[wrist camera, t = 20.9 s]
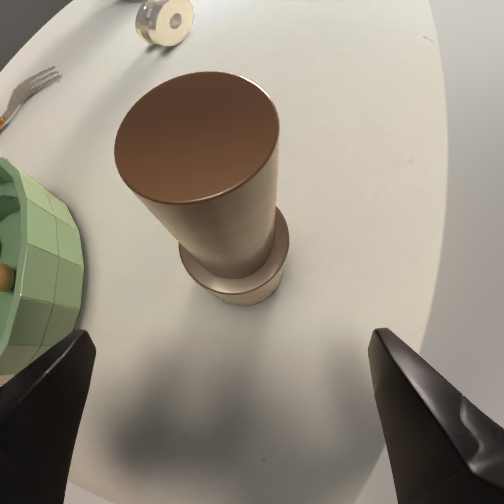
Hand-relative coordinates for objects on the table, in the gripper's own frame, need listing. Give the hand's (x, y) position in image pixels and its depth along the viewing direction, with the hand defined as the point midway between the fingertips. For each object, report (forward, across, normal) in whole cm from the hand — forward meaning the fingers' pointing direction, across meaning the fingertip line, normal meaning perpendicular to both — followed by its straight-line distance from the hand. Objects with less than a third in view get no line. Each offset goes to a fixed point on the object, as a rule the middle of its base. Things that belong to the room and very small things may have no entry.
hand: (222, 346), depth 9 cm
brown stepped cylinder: (+8, 0, +2) cm, 8 cm away
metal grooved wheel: (+23, +7, -13) cm, 27 cm away
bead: (+6, +17, +3) cm, 19 cm away
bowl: (+7, +17, +3) cm, 19 cm away
